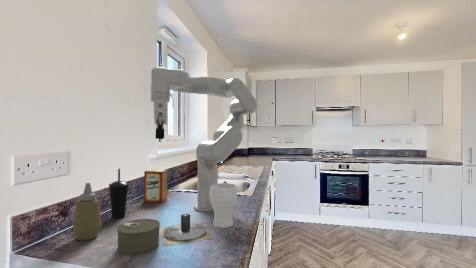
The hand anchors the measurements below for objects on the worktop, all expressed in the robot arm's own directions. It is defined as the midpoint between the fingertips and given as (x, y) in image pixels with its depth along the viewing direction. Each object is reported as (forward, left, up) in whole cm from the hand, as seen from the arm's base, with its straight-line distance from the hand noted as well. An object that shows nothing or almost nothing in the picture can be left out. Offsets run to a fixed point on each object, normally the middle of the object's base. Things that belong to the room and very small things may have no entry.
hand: (159, 138), depth 106 cm
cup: (-22, +18, -33) cm, 44 cm away
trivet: (-7, +22, -33) cm, 40 cm away
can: (+8, +28, -33) cm, 44 cm away
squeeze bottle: (+24, +14, -33) cm, 43 cm away
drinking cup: (+16, -6, -33) cm, 37 cm away
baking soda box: (0, -28, -33) cm, 43 cm away
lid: (-7, +22, -32) cm, 40 cm away
